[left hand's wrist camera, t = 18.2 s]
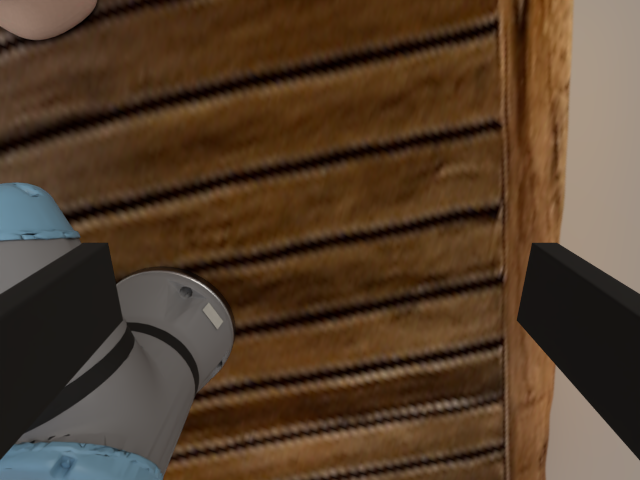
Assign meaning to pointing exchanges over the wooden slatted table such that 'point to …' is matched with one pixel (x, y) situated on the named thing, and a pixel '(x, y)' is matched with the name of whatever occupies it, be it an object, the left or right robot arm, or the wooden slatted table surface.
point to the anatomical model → (43, 16)
